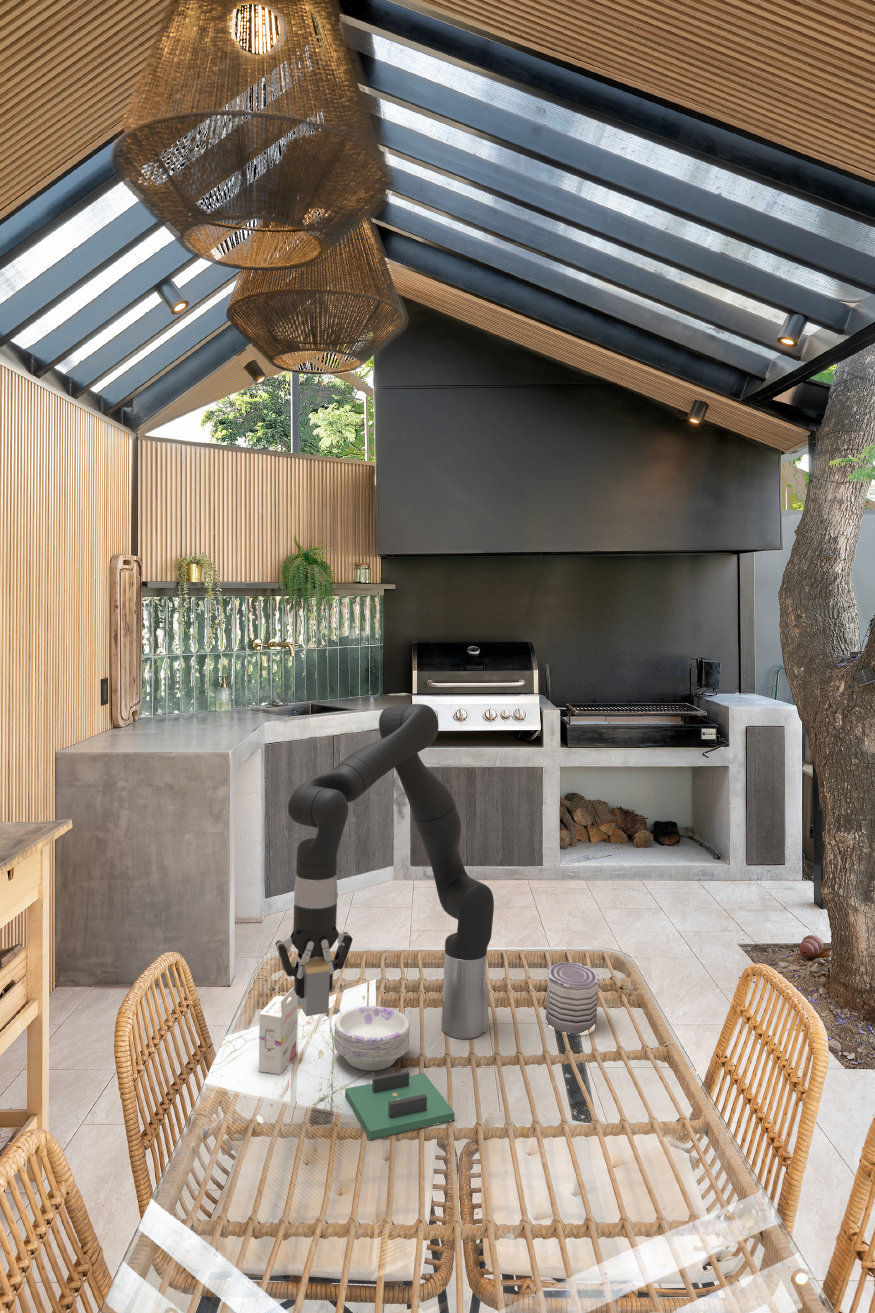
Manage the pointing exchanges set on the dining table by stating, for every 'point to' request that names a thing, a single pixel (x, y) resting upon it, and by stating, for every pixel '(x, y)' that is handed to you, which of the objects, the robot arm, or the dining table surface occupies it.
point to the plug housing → (316, 987)
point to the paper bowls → (371, 1037)
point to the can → (571, 997)
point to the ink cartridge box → (278, 1033)
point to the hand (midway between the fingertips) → (312, 994)
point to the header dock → (397, 1104)
